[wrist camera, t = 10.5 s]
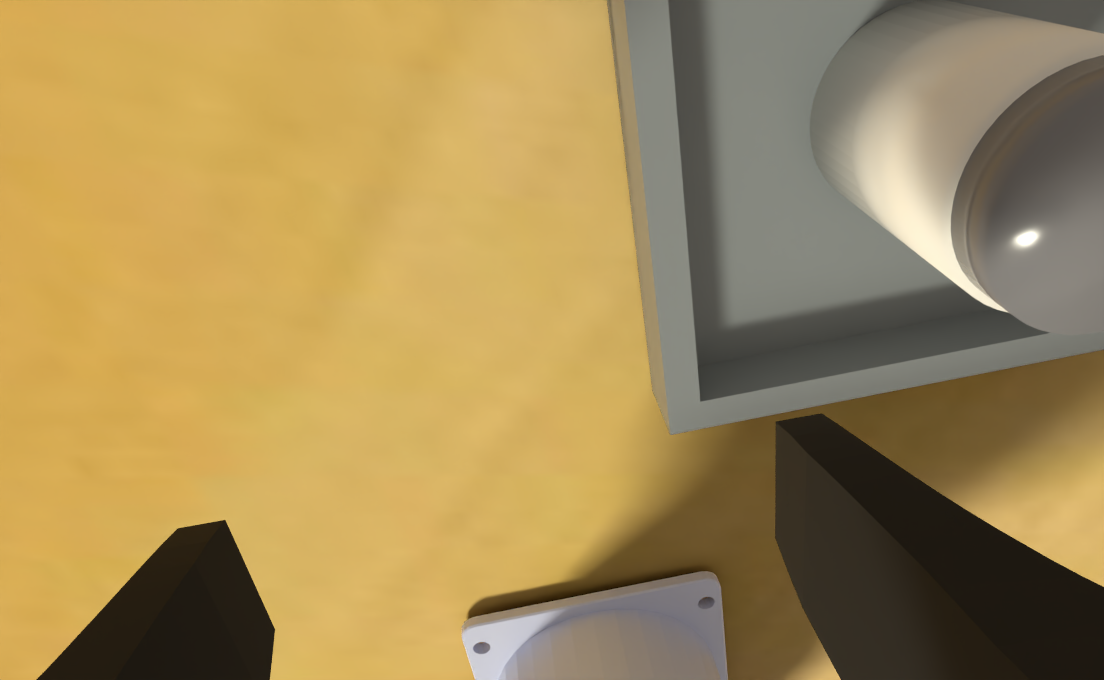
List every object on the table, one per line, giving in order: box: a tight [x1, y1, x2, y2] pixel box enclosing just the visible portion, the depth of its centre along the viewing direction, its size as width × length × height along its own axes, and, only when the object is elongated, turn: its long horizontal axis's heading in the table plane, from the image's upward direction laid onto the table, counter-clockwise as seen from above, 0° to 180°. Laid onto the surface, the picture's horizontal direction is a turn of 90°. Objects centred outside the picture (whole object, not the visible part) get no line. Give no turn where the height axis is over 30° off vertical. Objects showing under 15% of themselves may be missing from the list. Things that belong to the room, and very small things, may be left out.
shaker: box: [810, 0, 1104, 335], centre depth 15 cm, size 4×4×6 cm
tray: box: [607, 0, 1104, 435], centre depth 17 cm, size 13×13×2 cm
